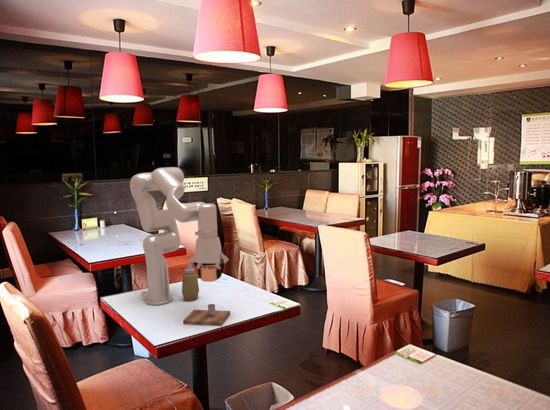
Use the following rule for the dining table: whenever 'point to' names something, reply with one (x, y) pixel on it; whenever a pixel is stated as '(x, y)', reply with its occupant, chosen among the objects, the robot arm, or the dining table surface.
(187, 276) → the squeeze bottle
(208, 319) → the hub board
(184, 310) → the dining table surface
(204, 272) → the terracotta pot
